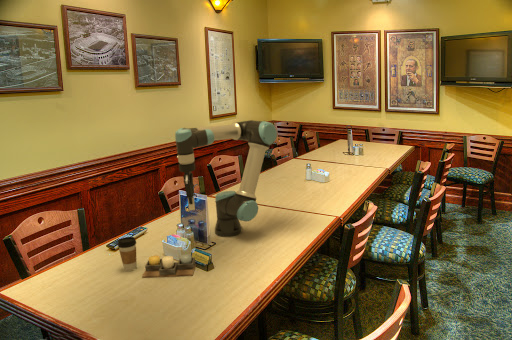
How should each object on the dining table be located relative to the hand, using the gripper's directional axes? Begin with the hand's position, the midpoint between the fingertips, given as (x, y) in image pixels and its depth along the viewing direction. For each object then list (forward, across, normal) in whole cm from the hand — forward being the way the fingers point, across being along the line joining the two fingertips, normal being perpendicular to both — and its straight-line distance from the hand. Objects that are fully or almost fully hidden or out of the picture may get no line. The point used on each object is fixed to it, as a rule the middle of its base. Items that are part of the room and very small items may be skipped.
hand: (192, 209), depth 214 cm
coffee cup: (+24, +10, -31) cm, 40 cm away
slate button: (+23, +12, -3) cm, 26 cm away
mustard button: (+22, +12, -18) cm, 31 cm away
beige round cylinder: (+21, +17, -11) cm, 29 cm away
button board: (+24, +14, -11) cm, 30 cm away
